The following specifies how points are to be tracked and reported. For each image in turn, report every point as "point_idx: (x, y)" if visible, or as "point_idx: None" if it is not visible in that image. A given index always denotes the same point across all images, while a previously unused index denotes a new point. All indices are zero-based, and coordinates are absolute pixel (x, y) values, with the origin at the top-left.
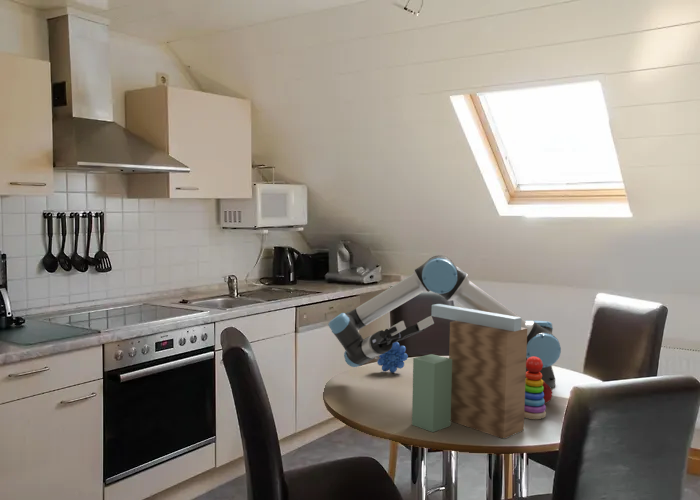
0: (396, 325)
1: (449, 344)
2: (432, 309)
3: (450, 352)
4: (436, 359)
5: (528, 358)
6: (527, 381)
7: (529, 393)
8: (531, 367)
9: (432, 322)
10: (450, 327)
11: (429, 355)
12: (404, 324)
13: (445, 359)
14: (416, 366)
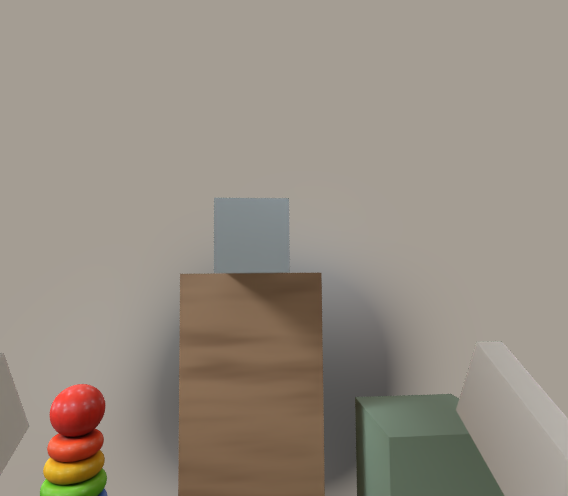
0: (565, 439)
1: (322, 368)
2: (288, 228)
3: (321, 400)
4: (415, 406)
5: (82, 395)
6: (97, 462)
7: (102, 493)
8: (104, 410)
9: (22, 416)
10: (321, 294)
11: (412, 430)
12: (470, 376)
13: (381, 400)
14: None
